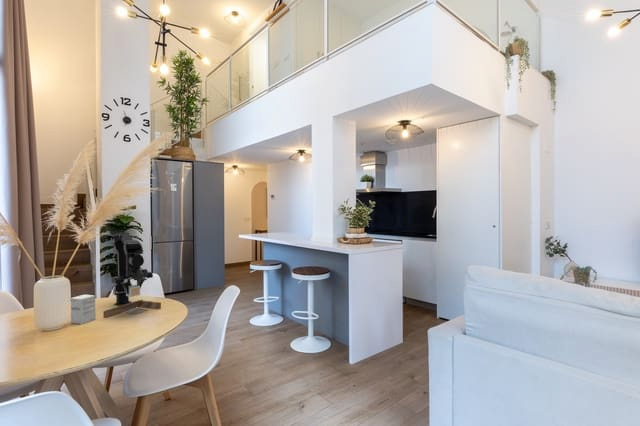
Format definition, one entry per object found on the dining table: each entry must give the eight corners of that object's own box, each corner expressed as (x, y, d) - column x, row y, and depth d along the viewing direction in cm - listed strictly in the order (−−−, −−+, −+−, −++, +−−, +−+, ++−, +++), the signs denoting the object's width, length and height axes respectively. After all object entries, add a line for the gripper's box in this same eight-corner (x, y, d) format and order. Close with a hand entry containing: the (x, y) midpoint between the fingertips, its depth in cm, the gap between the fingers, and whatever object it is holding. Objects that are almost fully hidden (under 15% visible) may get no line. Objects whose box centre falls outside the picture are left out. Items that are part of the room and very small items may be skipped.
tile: (124, 312, 168) (124, 312, 168) (137, 308, 175) (137, 307, 175) (134, 314, 165) (134, 313, 165) (147, 309, 173) (147, 309, 173)
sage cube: (130, 297, 164) (130, 287, 164) (126, 295, 167) (126, 286, 167) (140, 295, 168) (140, 286, 168) (136, 293, 171) (135, 284, 171)
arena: (103, 317, 161) (103, 311, 161) (141, 305, 181) (141, 299, 181) (125, 321, 155) (125, 314, 155) (162, 308, 175) (162, 302, 175)
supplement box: (70, 323, 153) (69, 297, 153) (85, 318, 160) (85, 294, 160) (81, 324, 151) (80, 298, 151) (96, 319, 158) (95, 294, 158)
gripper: (120, 268, 155) (120, 299, 156) (157, 263, 170) (158, 291, 171) (110, 266, 162) (111, 296, 162) (147, 261, 177) (148, 288, 177)
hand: (133, 293), depth 168 cm, fingers closed on sage cube, 5 cm apart
